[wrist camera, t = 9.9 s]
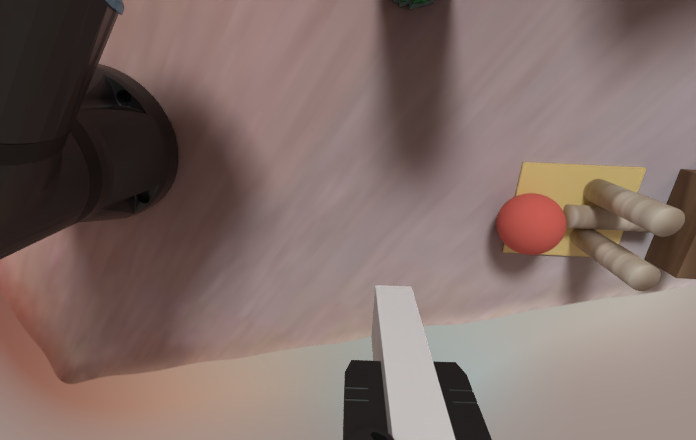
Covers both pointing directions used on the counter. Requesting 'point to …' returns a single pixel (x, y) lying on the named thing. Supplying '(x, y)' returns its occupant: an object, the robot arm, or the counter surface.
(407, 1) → the can
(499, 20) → the counter surface
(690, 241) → the back rail
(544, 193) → the plate
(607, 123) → the counter surface
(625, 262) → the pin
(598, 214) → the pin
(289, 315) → the counter surface
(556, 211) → the ball
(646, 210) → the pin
